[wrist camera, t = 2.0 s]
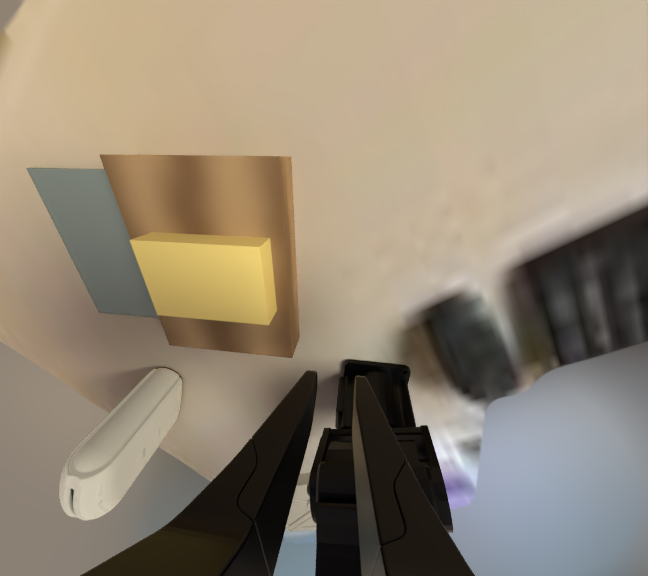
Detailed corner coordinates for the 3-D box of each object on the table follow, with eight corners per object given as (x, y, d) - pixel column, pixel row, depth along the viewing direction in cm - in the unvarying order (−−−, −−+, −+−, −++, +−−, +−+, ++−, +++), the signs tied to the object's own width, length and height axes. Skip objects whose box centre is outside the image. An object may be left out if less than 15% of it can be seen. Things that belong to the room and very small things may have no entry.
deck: (291, 156, 17) (278, 156, 14) (299, 336, 25) (292, 357, 22) (136, 155, 18) (99, 154, 16) (189, 326, 26) (169, 345, 23)
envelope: (247, 480, 42) (293, 517, 47) (241, 495, 40) (289, 532, 45) (373, 458, 33) (414, 506, 38) (373, 477, 31) (417, 525, 36)
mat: (141, 170, 19) (137, 170, 19) (186, 318, 25) (184, 320, 25) (30, 167, 20) (26, 168, 20) (101, 310, 27) (99, 312, 26)
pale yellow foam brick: (270, 238, 17) (259, 247, 15) (277, 310, 20) (268, 325, 18) (151, 232, 18) (129, 240, 16) (174, 301, 21) (157, 315, 19)
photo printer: (181, 419, 35) (99, 538, 24) (152, 409, 34) (56, 524, 24) (187, 373, 30) (88, 497, 19) (153, 361, 29) (32, 478, 19)
